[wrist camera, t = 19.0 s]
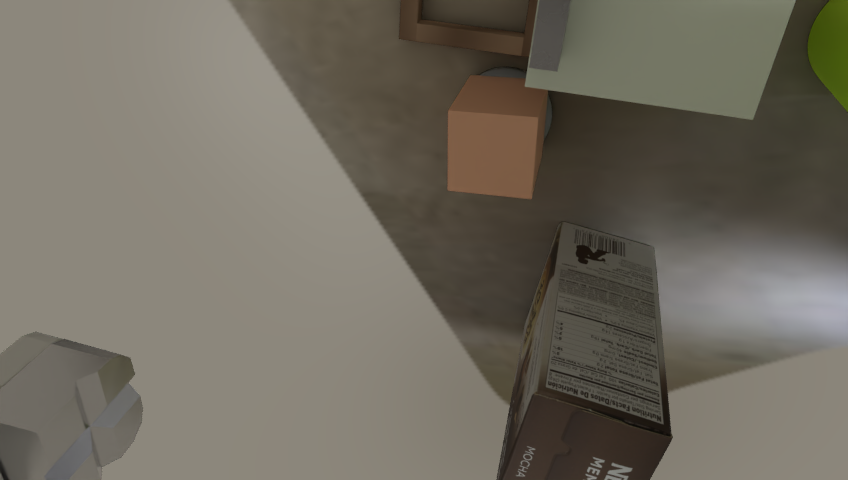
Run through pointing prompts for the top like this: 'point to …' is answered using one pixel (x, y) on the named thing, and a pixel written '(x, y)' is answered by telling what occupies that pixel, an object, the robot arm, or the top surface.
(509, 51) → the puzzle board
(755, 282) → the top surface
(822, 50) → the soap dispenser
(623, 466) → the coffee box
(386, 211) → the top surface
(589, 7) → the sliding lid
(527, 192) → the terracotta block
